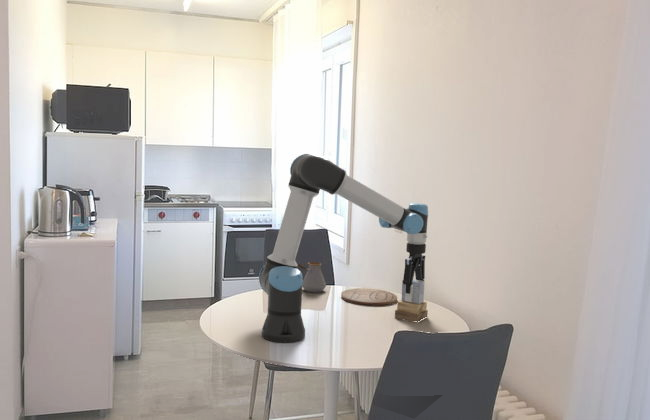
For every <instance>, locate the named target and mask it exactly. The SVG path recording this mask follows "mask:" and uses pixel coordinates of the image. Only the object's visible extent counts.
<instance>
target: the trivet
mask: <svg viewBox="0 0 650 420" xmlns="http://www.w3.org/2000/svg"><path fill="white" fill-rule="evenodd" d="M340 295H341V299H342V301H345V302H346V303H350V304H353V305H359V306H366V307H383V306H384V307H385V306H390V305H394V304H396V303H397V302H398V296H397V295H396V294H395V293H394V292H390V291H387V290H382V289H378V288H365V287H361V288H359V287H358V288H350V289H345V290H343V291H341V293H340ZM396 301H397V302H396Z"/></svg>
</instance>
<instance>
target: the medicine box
mask: <svg viewBox="0 0 650 420" xmlns="http://www.w3.org/2000/svg"><path fill="white" fill-rule="evenodd" d="M401 281H402V282H401V300H402V301H405V289H406V285H404V284H403V279H402V280H401ZM412 285H413V291H412V302H411V303H416V304H420V303H422V302H424V301H425V280H424V281H421V280H416V278H413V281H412ZM406 302H409V301H406Z"/></svg>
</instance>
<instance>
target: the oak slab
mask: <svg viewBox="0 0 650 420" xmlns="http://www.w3.org/2000/svg"><path fill="white" fill-rule="evenodd" d="M396 303H397V304H396V305H397V306H396V309H397V310H400V311H404V312H409V313H414V314H420V313H422V312H424V311H426V310H427V306H428V301H427V300H424V302H422V303H420V304H416V303H411V302H406V301H402V299H400V300H397V302H396Z"/></svg>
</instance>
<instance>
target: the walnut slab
mask: <svg viewBox="0 0 650 420" xmlns="http://www.w3.org/2000/svg"><path fill="white" fill-rule="evenodd" d="M428 311H429V310H428V309H426V311H424V312H422V313H420V314H414V313H409V312H404V311H400V310H397V308H396V309H395V310H394V318H395V319H398V318H399V320H402V319H404V320H403V321H407V320H408V321H407V322H411V321H417V322H418V321H420V320H421V319H423V318H425V317H427V318H428ZM420 322H421V321H420Z"/></svg>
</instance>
